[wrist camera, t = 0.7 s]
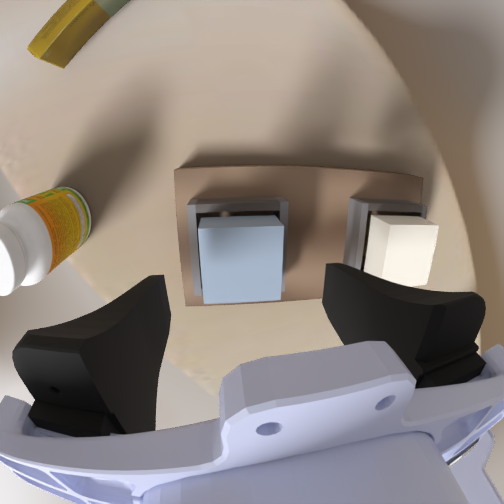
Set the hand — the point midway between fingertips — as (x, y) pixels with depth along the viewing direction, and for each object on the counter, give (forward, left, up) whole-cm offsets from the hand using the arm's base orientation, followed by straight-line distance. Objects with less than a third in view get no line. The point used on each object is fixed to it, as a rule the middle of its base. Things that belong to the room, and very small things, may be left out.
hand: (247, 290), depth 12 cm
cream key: (0, -11, -5) cm, 12 cm away
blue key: (0, 0, -5) cm, 5 cm away
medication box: (+20, +11, -10) cm, 24 cm away
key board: (0, -6, -9) cm, 11 cm away
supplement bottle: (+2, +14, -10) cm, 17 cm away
